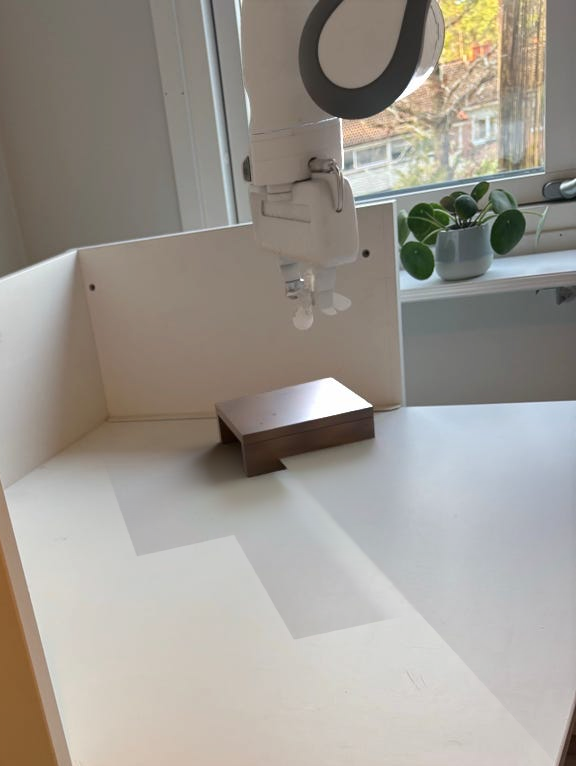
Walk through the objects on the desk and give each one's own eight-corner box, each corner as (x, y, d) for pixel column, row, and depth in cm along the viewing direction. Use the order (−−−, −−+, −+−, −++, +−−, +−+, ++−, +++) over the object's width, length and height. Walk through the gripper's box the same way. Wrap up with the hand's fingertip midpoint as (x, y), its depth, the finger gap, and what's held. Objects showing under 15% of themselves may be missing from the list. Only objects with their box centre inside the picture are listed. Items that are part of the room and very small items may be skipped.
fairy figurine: (271, 325, 99) (279, 268, 100) (288, 363, 105) (296, 308, 106) (330, 318, 96) (337, 259, 98) (345, 357, 102) (351, 300, 103)
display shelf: (334, 415, 123) (331, 377, 120) (376, 448, 109) (373, 406, 107) (219, 441, 123) (214, 403, 120) (247, 477, 109) (242, 435, 107)
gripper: (372, 151, 86) (379, 309, 92) (291, 152, 104) (302, 285, 110) (305, 165, 85) (317, 324, 92) (235, 164, 103) (249, 297, 110)
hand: (308, 302), depth 101 cm, fingers closed on fairy figurine, 6 cm apart
